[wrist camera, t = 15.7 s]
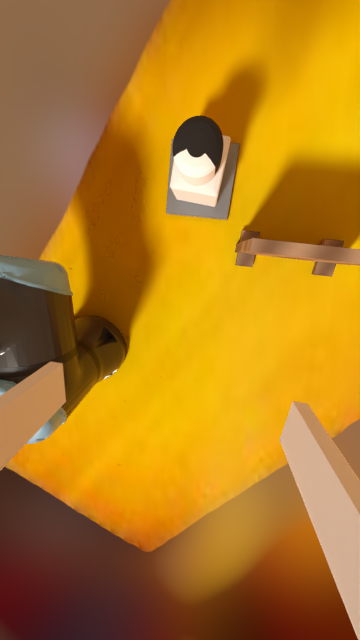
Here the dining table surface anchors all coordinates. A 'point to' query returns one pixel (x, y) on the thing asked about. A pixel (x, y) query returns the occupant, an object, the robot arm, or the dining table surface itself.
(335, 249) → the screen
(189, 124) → the medicine bottle
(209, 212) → the coaster
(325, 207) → the dining table surface
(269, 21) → the dining table surface
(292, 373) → the dining table surface
